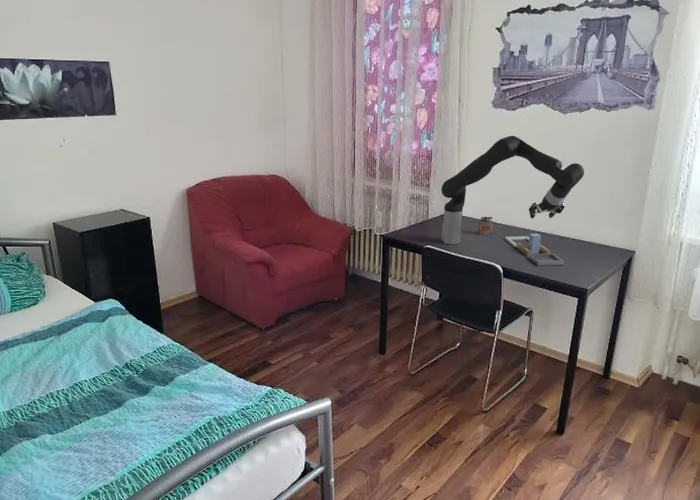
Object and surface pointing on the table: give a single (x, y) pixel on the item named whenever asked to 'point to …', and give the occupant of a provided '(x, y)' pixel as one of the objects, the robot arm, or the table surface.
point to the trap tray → (546, 259)
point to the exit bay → (515, 239)
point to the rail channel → (527, 251)
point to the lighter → (485, 226)
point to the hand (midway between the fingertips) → (540, 216)
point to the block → (534, 243)
